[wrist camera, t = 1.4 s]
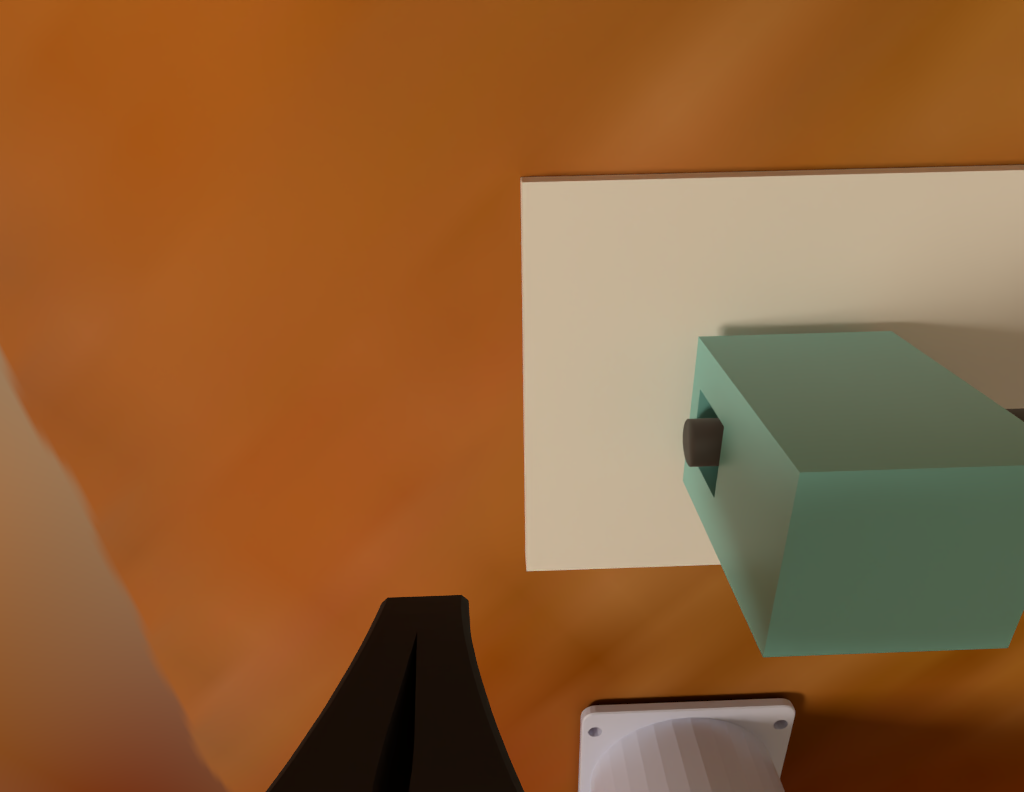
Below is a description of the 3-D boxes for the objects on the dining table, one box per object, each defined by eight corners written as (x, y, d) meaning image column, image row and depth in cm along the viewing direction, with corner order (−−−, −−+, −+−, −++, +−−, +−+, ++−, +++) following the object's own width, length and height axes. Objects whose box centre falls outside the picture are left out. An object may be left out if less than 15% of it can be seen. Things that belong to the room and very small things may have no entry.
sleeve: (856, 474, 20) (1008, 648, 14) (682, 480, 20) (762, 656, 14) (891, 330, 18) (1084, 463, 12) (698, 336, 18) (800, 472, 12)
